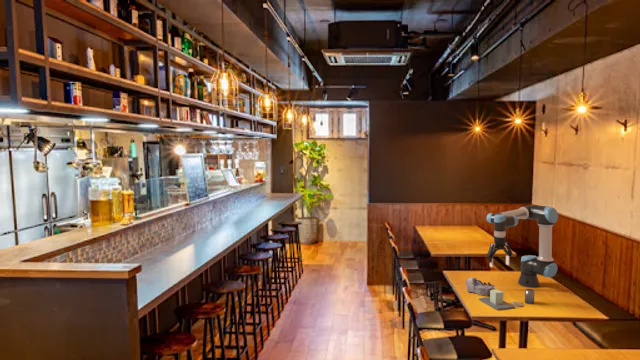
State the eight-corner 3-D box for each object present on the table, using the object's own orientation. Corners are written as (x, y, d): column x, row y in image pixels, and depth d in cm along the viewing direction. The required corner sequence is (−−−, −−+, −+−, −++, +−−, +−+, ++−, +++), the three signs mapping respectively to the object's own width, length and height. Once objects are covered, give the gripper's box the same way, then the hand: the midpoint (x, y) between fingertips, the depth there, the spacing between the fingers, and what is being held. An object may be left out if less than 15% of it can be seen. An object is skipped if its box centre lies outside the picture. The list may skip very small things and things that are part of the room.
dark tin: (529, 300, 296) (530, 288, 296) (536, 303, 291) (536, 291, 290) (522, 301, 295) (523, 289, 294) (528, 304, 289) (529, 292, 289)
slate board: (495, 298, 302) (495, 296, 302) (514, 308, 283) (514, 306, 283) (478, 300, 299) (478, 298, 299) (497, 310, 279) (497, 308, 279)
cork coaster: (517, 302, 294) (517, 301, 294) (526, 306, 287) (526, 305, 286) (508, 303, 292) (508, 302, 292) (516, 307, 284) (516, 306, 284)
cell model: (468, 274, 324) (495, 278, 314) (467, 288, 324) (495, 292, 315) (465, 279, 312) (493, 283, 302) (464, 293, 313) (492, 298, 303)
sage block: (497, 300, 294) (497, 289, 294) (503, 303, 289) (503, 292, 288) (490, 301, 293) (490, 290, 292) (495, 304, 287) (495, 293, 286)
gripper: (510, 233, 301) (510, 262, 303) (481, 236, 294) (481, 266, 296) (518, 236, 294) (518, 265, 295) (488, 239, 287) (488, 269, 289)
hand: (499, 265), depth 296 cm, fingers open, 13 cm apart
